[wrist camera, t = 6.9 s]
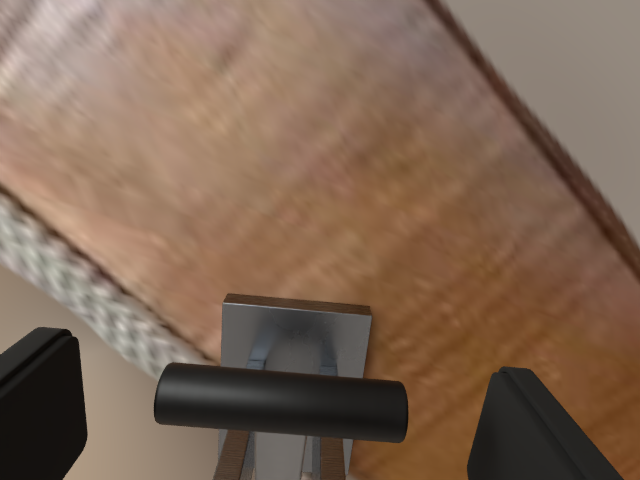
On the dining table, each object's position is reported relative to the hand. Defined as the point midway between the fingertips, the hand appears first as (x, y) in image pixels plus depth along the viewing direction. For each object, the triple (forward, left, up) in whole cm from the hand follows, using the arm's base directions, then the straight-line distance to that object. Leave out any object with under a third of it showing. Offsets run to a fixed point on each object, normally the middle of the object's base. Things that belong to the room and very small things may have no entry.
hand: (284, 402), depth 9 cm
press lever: (+3, +3, -2) cm, 5 cm away
